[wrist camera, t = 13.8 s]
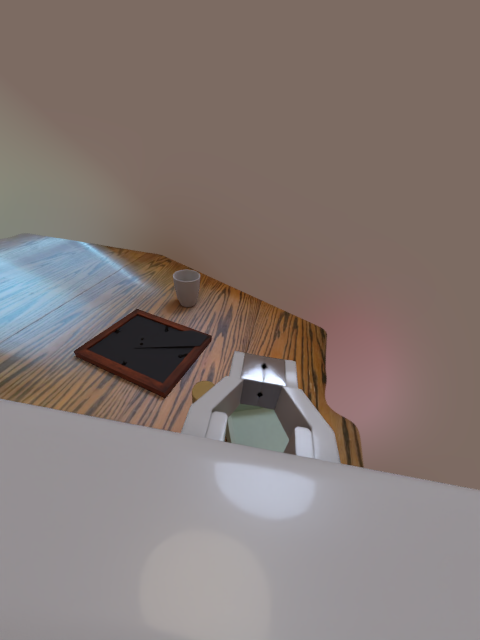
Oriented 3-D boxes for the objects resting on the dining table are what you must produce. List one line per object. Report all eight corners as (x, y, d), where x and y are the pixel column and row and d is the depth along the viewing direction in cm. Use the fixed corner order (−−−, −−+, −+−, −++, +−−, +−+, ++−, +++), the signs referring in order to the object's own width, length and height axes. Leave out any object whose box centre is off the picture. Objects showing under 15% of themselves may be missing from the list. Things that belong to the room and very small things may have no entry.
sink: (284, 402, 49) (289, 389, 46) (313, 473, 38) (322, 462, 36) (222, 411, 46) (223, 398, 43) (235, 491, 35) (237, 480, 33)
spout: (195, 421, 30) (194, 404, 28) (190, 401, 32) (189, 383, 30) (283, 396, 35) (289, 380, 32) (274, 380, 37) (279, 363, 35)
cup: (203, 298, 79) (203, 272, 73) (196, 311, 72) (195, 283, 66) (180, 294, 79) (178, 268, 73) (171, 307, 73) (168, 279, 67)
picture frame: (211, 340, 62) (137, 313, 69) (211, 335, 61) (136, 308, 67) (165, 397, 47) (76, 356, 53) (164, 392, 46) (73, 350, 52)
